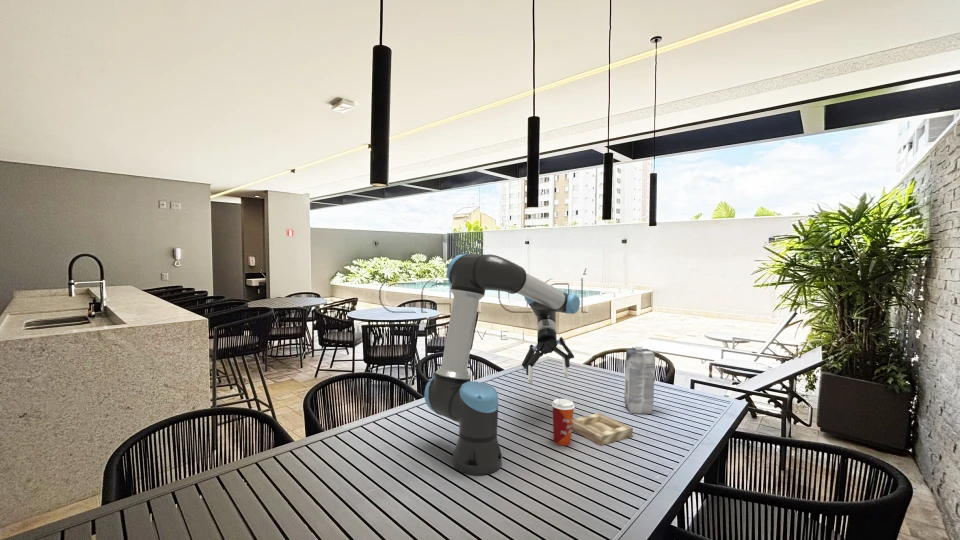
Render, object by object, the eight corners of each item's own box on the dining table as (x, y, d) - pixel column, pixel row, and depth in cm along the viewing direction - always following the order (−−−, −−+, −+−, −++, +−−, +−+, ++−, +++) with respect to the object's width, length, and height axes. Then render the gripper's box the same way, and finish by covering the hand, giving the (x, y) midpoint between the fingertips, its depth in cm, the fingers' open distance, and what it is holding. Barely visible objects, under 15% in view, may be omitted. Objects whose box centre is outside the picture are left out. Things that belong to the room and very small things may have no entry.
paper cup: (567, 449, 136) (568, 407, 135) (546, 442, 140) (547, 402, 140) (577, 441, 142) (578, 401, 141) (557, 435, 146) (558, 396, 146)
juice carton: (655, 415, 168) (657, 349, 167) (629, 414, 168) (631, 349, 167) (646, 407, 177) (649, 345, 176) (622, 406, 177) (624, 344, 176)
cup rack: (600, 445, 139) (600, 436, 139) (568, 427, 153) (568, 420, 153) (632, 436, 147) (632, 428, 147) (599, 420, 161) (599, 412, 161)
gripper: (580, 331, 162) (584, 377, 146) (522, 346, 171) (520, 390, 156) (573, 319, 158) (577, 365, 142) (514, 335, 167) (512, 379, 152)
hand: (547, 378), depth 149 cm, fingers open, 13 cm apart
